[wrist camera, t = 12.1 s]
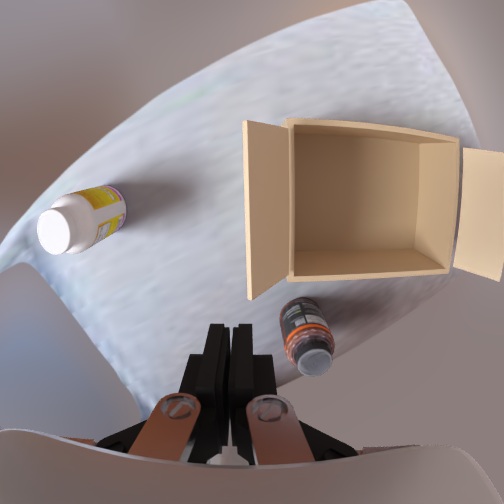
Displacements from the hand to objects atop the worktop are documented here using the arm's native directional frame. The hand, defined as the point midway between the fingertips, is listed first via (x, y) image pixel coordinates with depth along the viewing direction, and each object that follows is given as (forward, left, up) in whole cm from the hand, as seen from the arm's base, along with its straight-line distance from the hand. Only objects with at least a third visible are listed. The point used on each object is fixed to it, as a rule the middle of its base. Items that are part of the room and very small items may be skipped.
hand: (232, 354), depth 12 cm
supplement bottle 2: (-13, -7, -27) cm, 31 cm away
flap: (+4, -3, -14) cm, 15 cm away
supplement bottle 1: (+3, +19, -27) cm, 33 cm away
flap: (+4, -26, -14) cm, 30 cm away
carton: (+4, -14, -27) cm, 31 cm away
